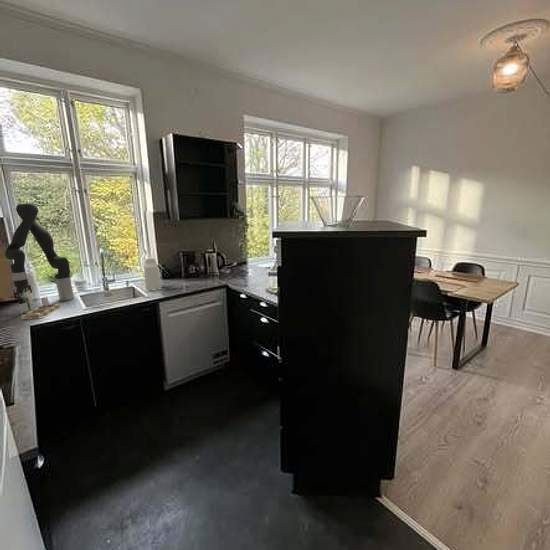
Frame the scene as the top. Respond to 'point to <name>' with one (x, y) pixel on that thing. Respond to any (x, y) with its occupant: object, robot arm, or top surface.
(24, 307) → the syrup box
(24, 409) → the top surface
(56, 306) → the hole bar
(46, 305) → the steel pin
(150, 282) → the milk
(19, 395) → the top surface
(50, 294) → the top surface
